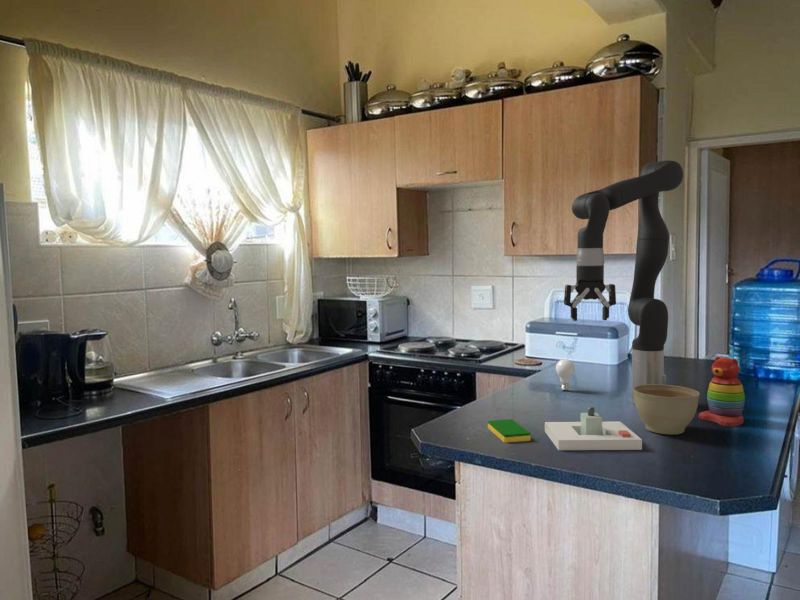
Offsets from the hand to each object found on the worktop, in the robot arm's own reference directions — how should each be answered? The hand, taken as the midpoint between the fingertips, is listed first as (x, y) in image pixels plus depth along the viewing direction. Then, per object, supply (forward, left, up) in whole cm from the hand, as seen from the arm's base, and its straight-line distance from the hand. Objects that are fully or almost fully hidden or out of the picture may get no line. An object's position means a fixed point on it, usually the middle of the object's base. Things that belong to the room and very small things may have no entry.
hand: (589, 320), depth 177 cm
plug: (+6, +23, -28) cm, 36 cm away
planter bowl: (-16, +15, -28) cm, 36 cm away
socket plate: (+6, +23, -28) cm, 37 cm away
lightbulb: (-1, -33, -28) cm, 43 cm away
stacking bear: (-36, +6, -28) cm, 46 cm away
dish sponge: (+26, +17, -29) cm, 42 cm away
